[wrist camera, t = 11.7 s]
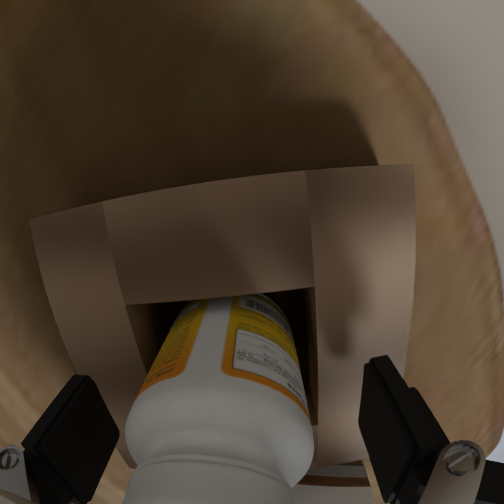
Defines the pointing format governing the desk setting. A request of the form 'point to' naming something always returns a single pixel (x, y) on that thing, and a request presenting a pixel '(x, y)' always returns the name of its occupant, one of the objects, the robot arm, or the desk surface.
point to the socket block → (241, 278)
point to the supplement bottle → (221, 409)
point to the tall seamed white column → (334, 486)
